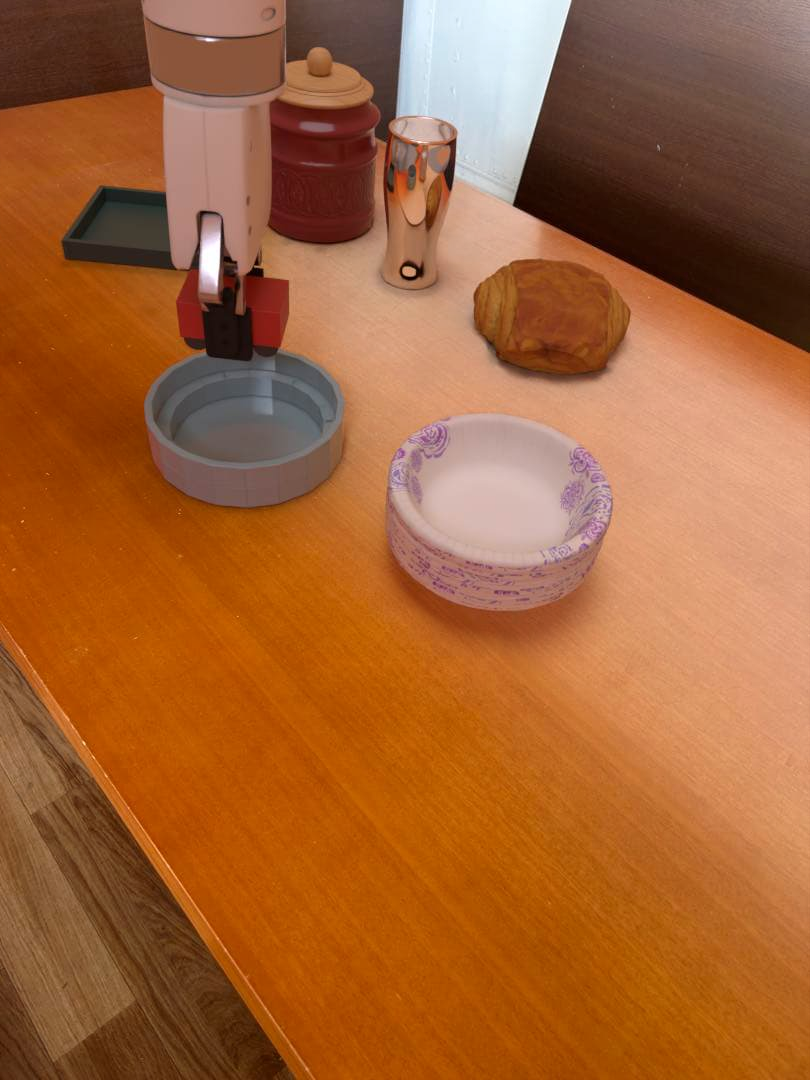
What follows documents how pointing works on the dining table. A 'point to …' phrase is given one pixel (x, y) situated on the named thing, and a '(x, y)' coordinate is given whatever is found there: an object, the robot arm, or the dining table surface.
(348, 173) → the kitchen canister
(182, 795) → the dining table surface
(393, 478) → the paper bowls
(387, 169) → the beer glass
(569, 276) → the croissant
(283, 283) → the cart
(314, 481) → the bowl
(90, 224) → the tray
